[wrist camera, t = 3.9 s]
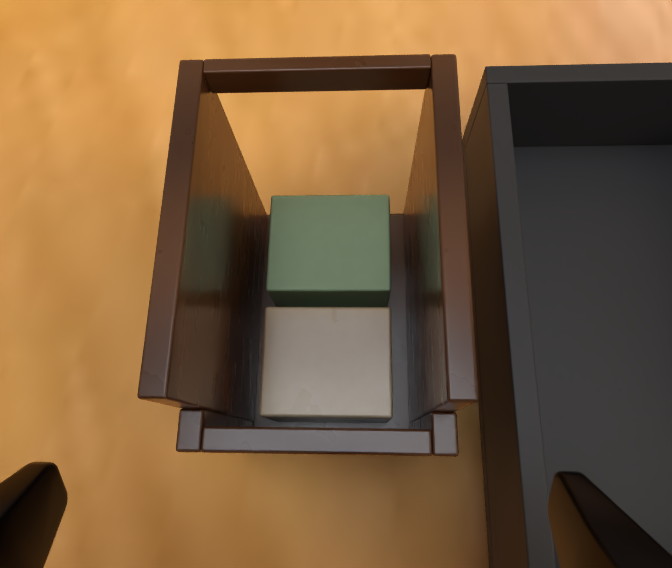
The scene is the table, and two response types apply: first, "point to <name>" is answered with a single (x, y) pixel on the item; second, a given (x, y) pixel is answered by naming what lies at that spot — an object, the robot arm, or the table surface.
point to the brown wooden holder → (252, 258)
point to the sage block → (329, 251)
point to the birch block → (327, 365)
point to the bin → (571, 293)
